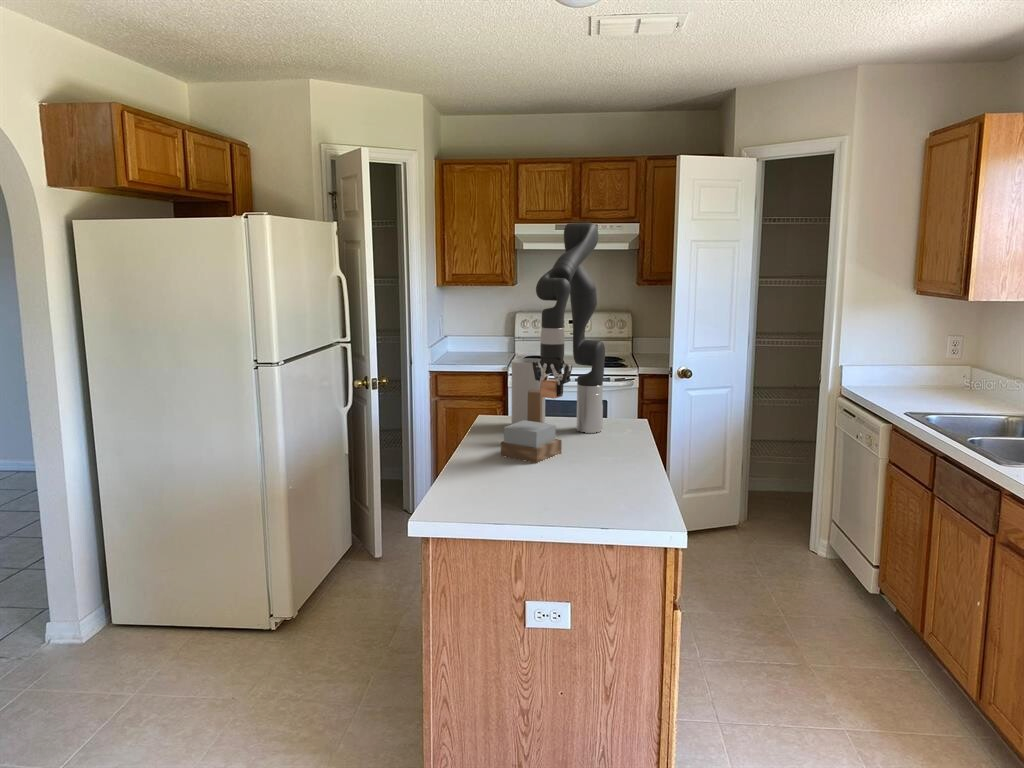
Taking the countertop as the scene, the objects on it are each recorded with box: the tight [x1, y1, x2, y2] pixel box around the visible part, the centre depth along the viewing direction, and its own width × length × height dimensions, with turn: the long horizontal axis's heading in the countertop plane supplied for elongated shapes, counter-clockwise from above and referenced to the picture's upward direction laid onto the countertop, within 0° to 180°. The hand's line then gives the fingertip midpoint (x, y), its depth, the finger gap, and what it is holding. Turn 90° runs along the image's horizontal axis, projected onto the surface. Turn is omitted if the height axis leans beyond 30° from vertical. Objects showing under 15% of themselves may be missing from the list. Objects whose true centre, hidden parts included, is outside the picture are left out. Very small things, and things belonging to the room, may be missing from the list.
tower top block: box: [503, 420, 557, 448], centre depth 237 cm, size 12×12×5 cm
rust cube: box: [541, 378, 564, 400], centre depth 234 cm, size 5×5×5 cm
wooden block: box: [527, 390, 543, 423], centre depth 252 cm, size 9×4×18 cm, turn 80°
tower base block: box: [500, 438, 563, 464], centre depth 238 cm, size 14×14×5 cm
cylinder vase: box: [511, 357, 546, 425], centre depth 274 cm, size 12×12×25 cm
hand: (551, 395), depth 235 cm, fingers closed on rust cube, 5 cm apart
